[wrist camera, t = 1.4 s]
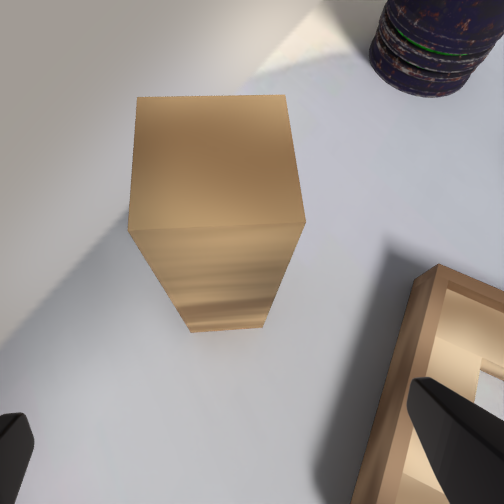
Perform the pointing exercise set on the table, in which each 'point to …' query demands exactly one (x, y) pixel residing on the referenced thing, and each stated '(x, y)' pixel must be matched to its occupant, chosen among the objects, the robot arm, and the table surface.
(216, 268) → the peg
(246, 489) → the table surface
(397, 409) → the socket box
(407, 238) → the table surface
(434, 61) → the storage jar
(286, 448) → the table surface
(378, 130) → the table surface
